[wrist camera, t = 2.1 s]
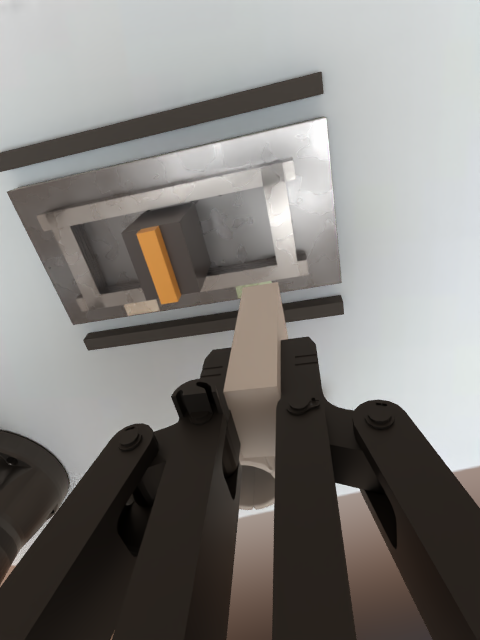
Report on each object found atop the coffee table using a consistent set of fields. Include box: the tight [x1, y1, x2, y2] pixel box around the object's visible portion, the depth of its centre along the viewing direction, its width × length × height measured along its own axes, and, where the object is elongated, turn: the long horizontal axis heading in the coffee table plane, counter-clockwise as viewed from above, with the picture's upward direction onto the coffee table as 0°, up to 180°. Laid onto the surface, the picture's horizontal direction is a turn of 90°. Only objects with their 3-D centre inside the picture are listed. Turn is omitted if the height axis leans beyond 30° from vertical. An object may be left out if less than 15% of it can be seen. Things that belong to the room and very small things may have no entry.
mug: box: [239, 448, 275, 510], centre depth 35 cm, size 8×12×12 cm, turn 107°
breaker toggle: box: [121, 202, 211, 304], centre depth 27 cm, size 4×5×6 cm
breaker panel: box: [7, 117, 342, 325], centre depth 30 cm, size 24×12×3 cm, turn 102°
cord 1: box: [83, 295, 344, 350], centre depth 35 cm, size 24×1×1 cm, turn 102°
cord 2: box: [0, 72, 324, 172], centre depth 27 cm, size 24×1×1 cm, turn 102°
